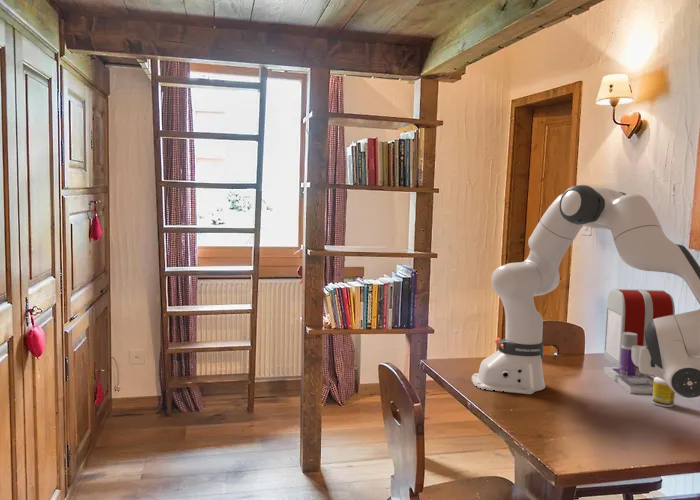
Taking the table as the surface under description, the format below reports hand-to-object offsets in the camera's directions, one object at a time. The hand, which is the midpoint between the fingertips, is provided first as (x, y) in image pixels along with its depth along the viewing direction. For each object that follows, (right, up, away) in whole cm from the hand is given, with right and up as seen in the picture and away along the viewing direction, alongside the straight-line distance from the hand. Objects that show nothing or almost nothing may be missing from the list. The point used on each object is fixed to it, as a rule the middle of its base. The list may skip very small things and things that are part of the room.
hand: (672, 351), depth 146 cm
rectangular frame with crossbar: (+6, -16, +32) cm, 36 cm away
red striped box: (+19, -15, +55) cm, 60 cm away
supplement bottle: (+5, -18, +13) cm, 22 cm away
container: (+6, -16, +36) cm, 40 cm away
